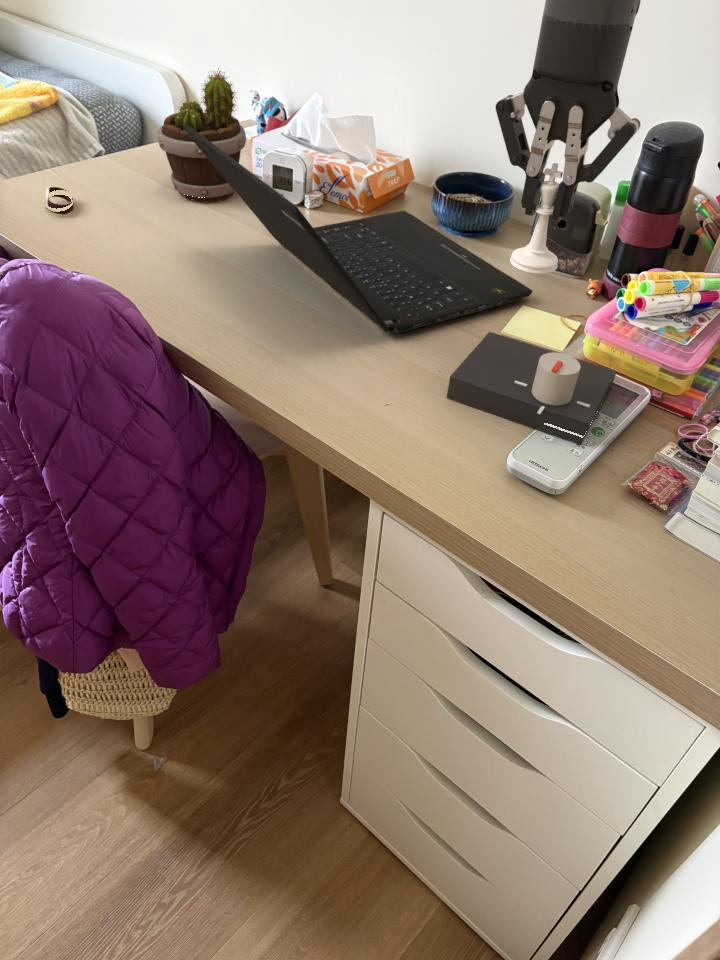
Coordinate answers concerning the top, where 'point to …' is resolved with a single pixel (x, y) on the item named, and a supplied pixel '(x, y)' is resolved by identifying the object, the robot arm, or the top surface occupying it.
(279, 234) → the laptop
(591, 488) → the top surface
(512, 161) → the robot arm
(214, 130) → the flowerpot
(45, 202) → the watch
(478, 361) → the dark grey flat block
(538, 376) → the knob
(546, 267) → the chess piece
